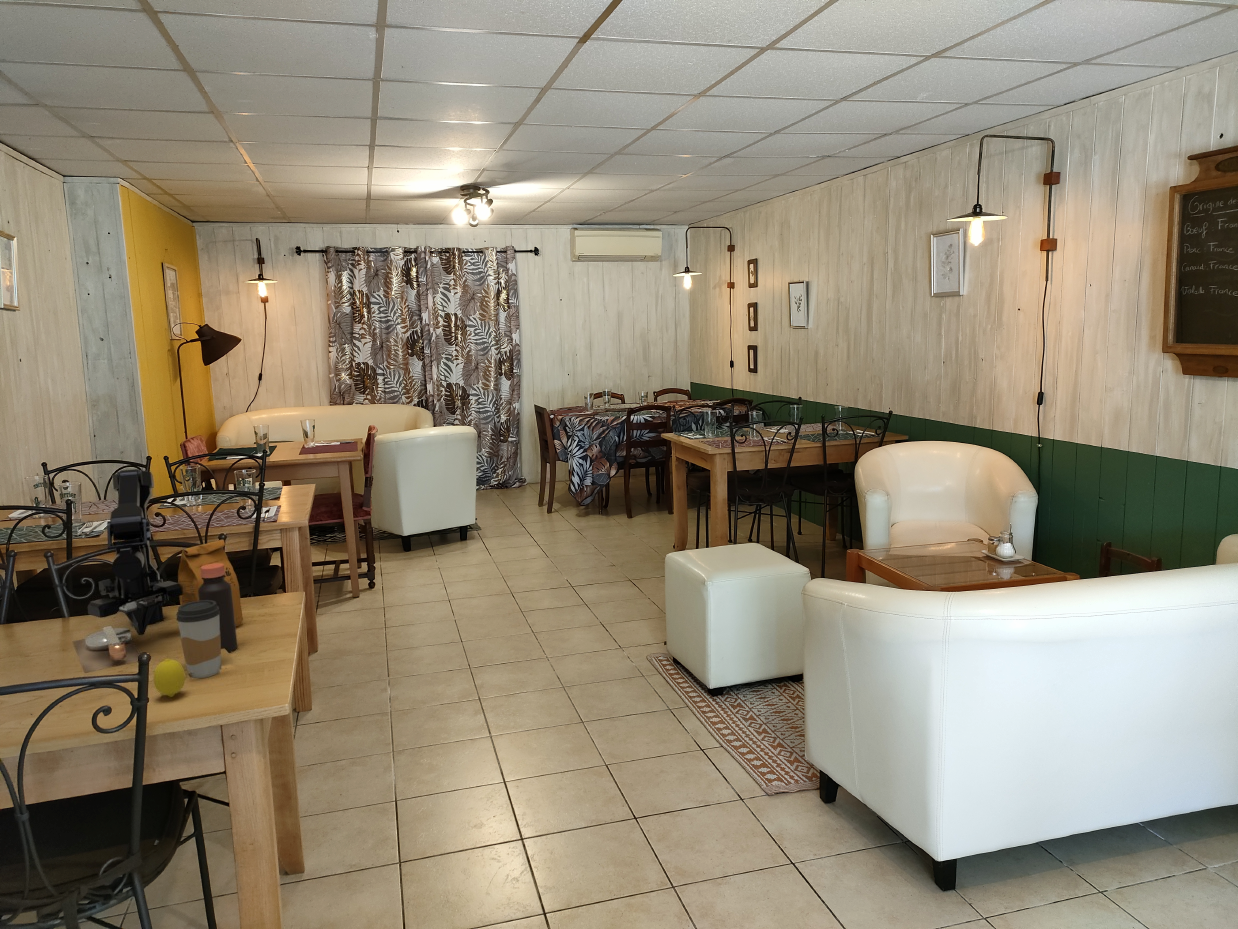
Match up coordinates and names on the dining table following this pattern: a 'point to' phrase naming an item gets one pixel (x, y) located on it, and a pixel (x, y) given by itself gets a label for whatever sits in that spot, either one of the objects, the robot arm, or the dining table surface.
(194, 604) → the coffee cup
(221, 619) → the bottle
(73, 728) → the dining table surface
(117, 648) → the pizza cutter
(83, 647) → the mounting board
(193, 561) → the coffee package
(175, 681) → the lemon
